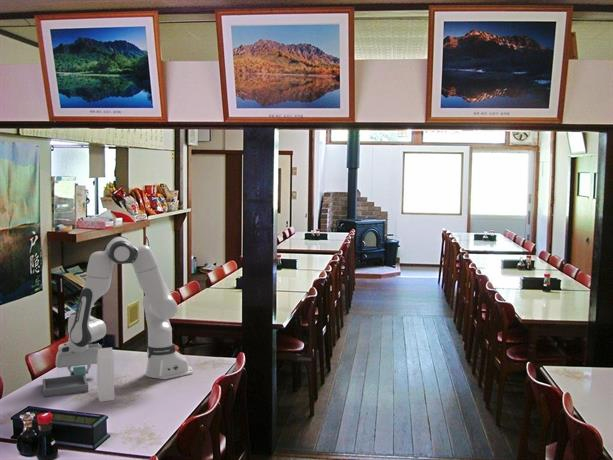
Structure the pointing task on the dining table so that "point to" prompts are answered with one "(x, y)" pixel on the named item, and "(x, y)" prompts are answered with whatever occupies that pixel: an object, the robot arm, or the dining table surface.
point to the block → (79, 370)
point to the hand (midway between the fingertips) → (79, 374)
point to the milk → (105, 374)
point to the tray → (65, 385)
